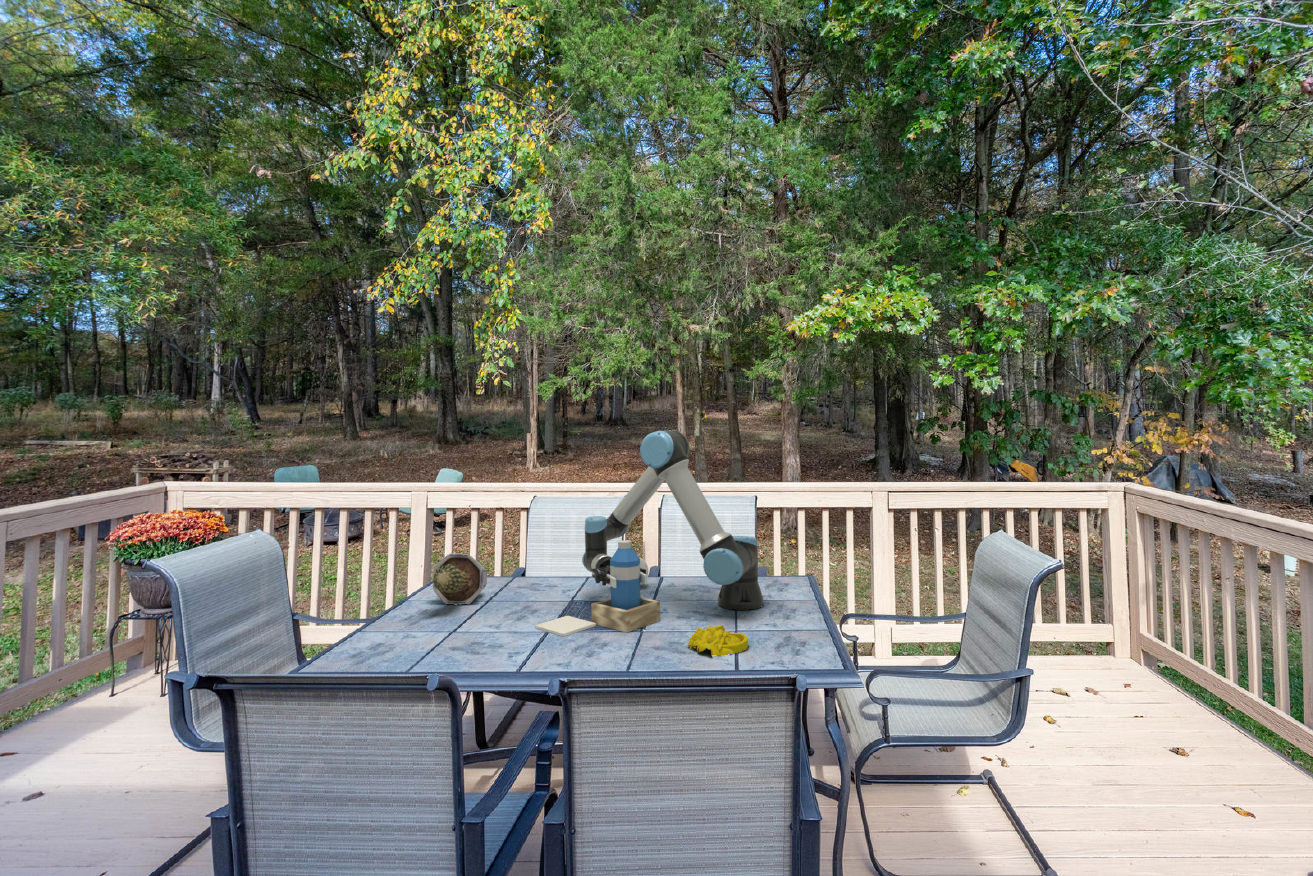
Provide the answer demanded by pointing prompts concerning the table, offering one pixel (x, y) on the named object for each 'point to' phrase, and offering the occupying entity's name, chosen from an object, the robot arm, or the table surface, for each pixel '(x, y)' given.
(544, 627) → the plate
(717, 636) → the door knocker
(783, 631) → the table surface
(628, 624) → the holder collar
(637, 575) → the water bottle
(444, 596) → the potted plant
